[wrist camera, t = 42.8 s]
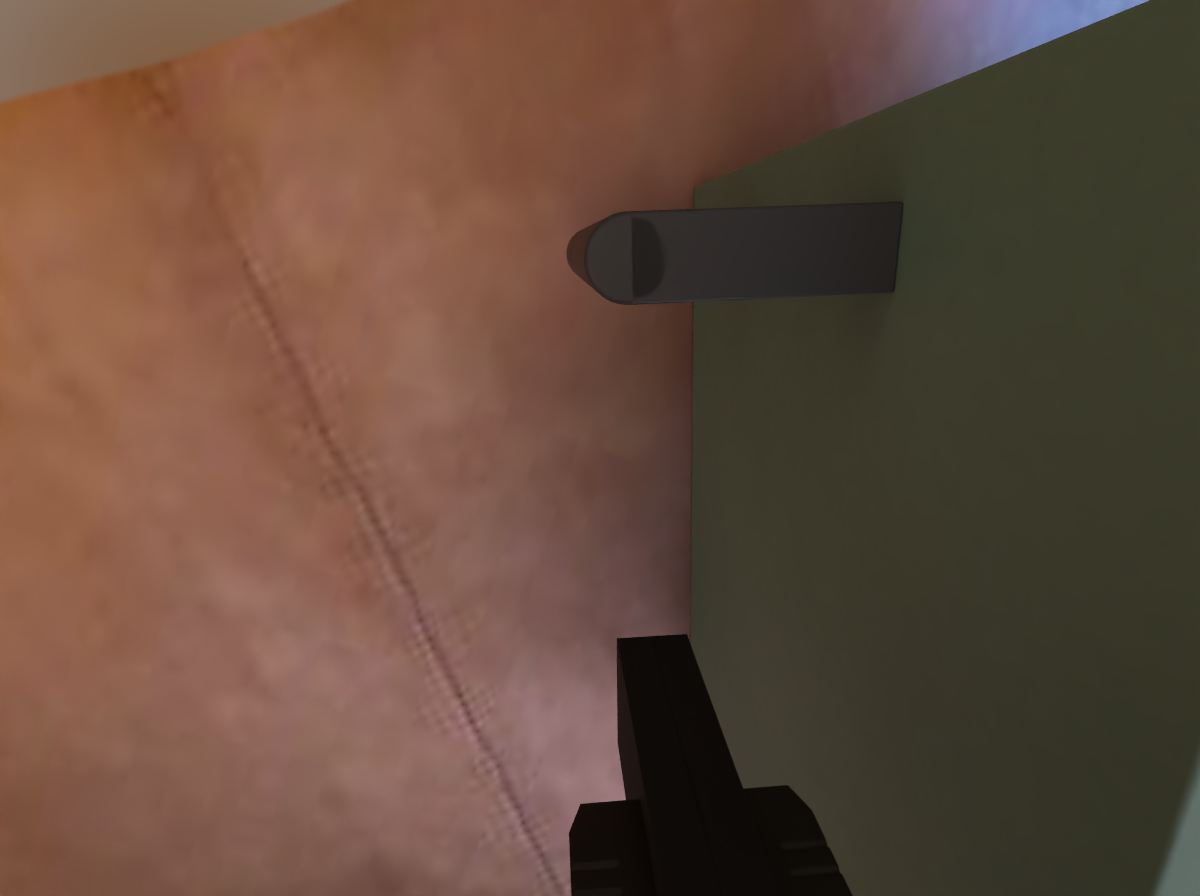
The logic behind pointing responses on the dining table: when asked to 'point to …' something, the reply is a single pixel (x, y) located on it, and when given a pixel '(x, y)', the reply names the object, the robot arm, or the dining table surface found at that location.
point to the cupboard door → (957, 467)
